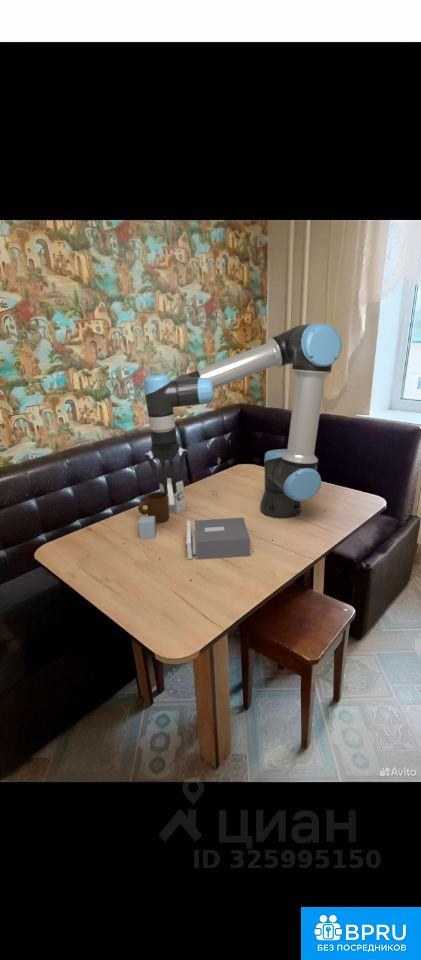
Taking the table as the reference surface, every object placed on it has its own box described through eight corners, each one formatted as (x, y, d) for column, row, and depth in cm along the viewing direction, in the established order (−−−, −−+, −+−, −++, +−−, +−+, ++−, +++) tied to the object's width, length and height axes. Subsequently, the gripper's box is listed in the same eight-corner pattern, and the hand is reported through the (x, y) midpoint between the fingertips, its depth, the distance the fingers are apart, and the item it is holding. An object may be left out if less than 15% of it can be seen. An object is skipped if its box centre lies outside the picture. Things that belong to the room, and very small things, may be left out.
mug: (146, 530, 141) (144, 505, 138) (134, 524, 146) (131, 499, 143) (173, 519, 149) (171, 495, 146) (161, 513, 154) (158, 490, 151)
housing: (243, 533, 135) (243, 516, 133) (250, 555, 121) (249, 537, 119) (195, 536, 135) (194, 520, 133) (196, 559, 121) (195, 541, 119)
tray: (236, 532, 135) (235, 517, 133) (241, 555, 121) (241, 539, 119) (186, 536, 135) (185, 521, 133) (186, 559, 121) (185, 542, 119)
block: (156, 531, 140) (154, 515, 138) (155, 538, 135) (153, 522, 133) (142, 532, 140) (140, 516, 138) (140, 539, 135) (138, 523, 133)
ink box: (161, 509, 158) (158, 481, 154) (169, 505, 161) (167, 477, 158) (177, 514, 153) (174, 485, 149) (186, 509, 156) (183, 481, 152)
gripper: (184, 424, 123) (192, 496, 131) (141, 428, 122) (152, 500, 130) (185, 429, 116) (193, 505, 124) (139, 434, 115) (150, 509, 123)
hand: (172, 502), depth 127 cm, fingers closed
